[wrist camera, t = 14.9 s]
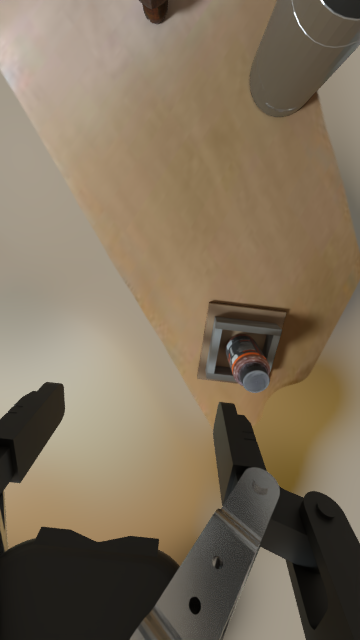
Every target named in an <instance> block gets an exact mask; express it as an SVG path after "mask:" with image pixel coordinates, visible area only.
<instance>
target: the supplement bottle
mask: <svg viewBox="0 0 360 640" xmlns="http://www.w3.org/2000/svg"><path fill="white" fill-rule="evenodd" d="M226 355H227V358H228V361H229V364H230V367H231V370H232V374H233V376H234V379H235V380H236V381H237V382H238V383H239V384H240V385H242V386H244V388H245V389H246V390H247V391H249V392H253V393H257V392H261V391H263V390H265V389H266V388H267V386H268V385H269V381H270V379H269V374H270V366H269V363H268V361H267V360H266V358H265V356H264V355H263V353H262V351H261V350H260V348H259V347H258V345H257V343H256V342H255V340H254V339H253V338H252V337H250V336H248V335H244V334H240V335H236V336H234V337H232V338H231V339H230V340H229V341H228V342H227V344H226Z"/></svg>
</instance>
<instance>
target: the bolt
mask: <svg viewBox="0 0 360 640" xmlns="http://www.w3.org/2000/svg"><path fill="white" fill-rule="evenodd" d="M139 1H140V2H141V3H142V5H143V10H144V13H145V16H146V18H147V19H149V20H150V22H152V23H155V24H157V23H160V22H161V21H162V20H163V19H164V17H165V15H166V13H167V8H168V0H139Z"/></svg>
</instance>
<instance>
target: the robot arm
mask: <svg viewBox="0 0 360 640" xmlns="http://www.w3.org/2000/svg"><path fill="white" fill-rule="evenodd" d="M359 45H360V0H277V2H276V5H275V7H274V10H273V12H272V15H271V17H270V20H269V22H268V25H267V27H266V30H265V33H264V35H263V37H262V40H261V42H260V45H259V48H258V50H257V53H256V55H255V58H254V61H253V64H252V66H251V72H250V89H251V94H252V97H253V99H254V101H255V103H256V105H257V106H258V107H259V108H260V109H261V110H262V111H263V112H264V113H266V114H267V115H270V116H273V117H284V116H288V115H290V114H292V113H294V112H296V111H297V110H299V109H300V108H301V107H302V106H303V105H304V104H305V103H306V102H307V101H308V100H309V99H310V98H311V97H312V95H313V94H314V93H315V92H316V91H317V90H318V89H319V88H320V87H321V86H322V85H323V84H324V83H325V82H326V81H327V79H328V78H329V77H330V76H331V75H332V74H333V73H334V72H335V71H336V70H337V69H338V68H339V67H340V66H341V64H342V63H343V62H344V61H345V60H346V59H347V58H348V57H349V56H350V55H351V54H352V53H353V52H354V51H355V49H356V48H357V47H358V46H359ZM64 412H65V402H64V387H63V384H60V383H50V382H46V383H44V384H43V385H42V387H41V388H40V389H39V390H38V391H32V392H30V393H29V394H27V395H25V396H23V397H22V398H21V399H20V400H19V401H18V402H17V403H16V404H15V405H14V407H12V408H11V409H10V410H9V411H8V413H6V414H5V415H4V416H3V417H2V418H1V419H0V640H223V638H224V635H225V633H226V630H227V628H228V625H229V623H230V620H231V618H232V616H233V613H234V610H235V608H236V605H237V603H238V600H239V598H240V595H241V593H242V590H243V587H244V585H245V583H246V580H247V578H248V576H249V573H250V571H251V568H252V566H253V563H254V561H255V558H256V556H257V554H258V551H259V549H260V547H263V548H264V549H266V550H269V551H270V552H272V553H274V554H276V555H278V556H280V557H282V558H284V559H286V563H287V567H288V571H289V575H290V579H291V582H292V587H293V590H294V594H295V598H296V602H297V606H298V610H299V614H300V618H301V622H302V626H303V630H304V633H305V638H306V640H360V543H359V541H358V539H357V537H356V536H355V534H354V532H353V530H352V528H351V526H350V524H349V522H348V520H347V518H346V516H345V514H344V512H343V511H342V509H341V508H340V507H339V505H338V504H337V503H336V502H335V501H333V500H332V499H331V498H330V497H328V496H327V495H324V494H322V493H320V492H315V491H312V492H308V493H307V494H306V495H305V496H304V498H303V497H301V496H298V495H296V494H293V493H291V492H289V491H286V490H284V489H283V488H281V487H280V486H279V485H278V483H277V481H276V480H275V478H274V477H273V476H272V475H271V474H269V473H268V472H267V471H266V468H265V465H264V462H263V459H262V456H261V453H260V450H259V447H258V444H257V442H256V438H255V435H254V432H253V429H252V426H251V423H250V422H249V421H248V419H247V418H246V417H245V416H244V415H237V411H236V407H235V405H234V404H232V403H224V402H219V404H218V409H217V414H216V418H215V423H214V430H213V437H214V446H215V454H216V461H217V468H218V477H219V484H220V492H221V500H222V506H223V507H222V508H221V509H217V510H216V511H215V513H214V514H213V516H212V517H211V519H210V520H209V522H208V524H207V525H206V527H205V528H204V530H203V531H202V533H201V535H200V536H199V538H198V539H197V541H196V542H195V544H194V545H193V547H192V549H191V550H190V552H189V553H188V555H187V556H186V558H185V560H184V561H183V563H182V564H181V566H179V565H178V564H177V562H175V561H174V560H173V559H172V558H171V557H170V556H168V555H167V554H165V553H164V552H162V551H160V550H158V544H159V539H153V538H144V537H135V536H128V537H124V538H118V539H113V540H108V541H103V542H96V541H93V540H91V539H89V538H87V537H85V536H82V535H81V534H78V533H76V532H74V531H72V530H68V529H57V528H49V527H41V529H40V531H39V533H38V535H37V537H36V538H35V539H31V540H28V541H25V542H22V543H20V544H18V545H15V546H14V547H12V548H10V549H8V543H7V530H6V511H5V494H4V489H5V488H6V486H7V485H8V483H9V482H14V483H21V481H22V480H23V478H24V477H25V475H26V474H27V472H28V471H29V469H30V468H31V466H32V464H33V463H34V461H35V460H36V458H37V457H38V455H39V454H40V452H41V451H42V449H43V447H44V446H45V445H46V443H47V442H48V440H49V439H50V437H51V436H52V434H53V433H54V431H55V430H56V428H57V427H58V425H59V424H60V422H61V420H62V418H63V416H64Z"/></svg>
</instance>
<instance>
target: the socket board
mask: <svg viewBox="0 0 360 640" xmlns="http://www.w3.org/2000/svg"><path fill="white" fill-rule="evenodd" d="M285 316H286V312H285V311H280V310H272V309H263V308H255V307H247V306H238V305H230V304H222V303H213V302H209V307H208V313H207V319H206V325H205V331H204V337H203V343H202V350H201V356H200V362H199V368H198V374H197V379H203V380H212V381H220V382H229V383H238V382H237V381H236V380H235V379H234V376H233V374H232V370H231V367H230V364H229V361H228V358H227V355H226V344H227V342H228V341H229V340H230V339H231V338H232V337H234V336H236V335H240V334H244V335H248V336H250V337H252V338H253V339H254V340H255V342H256V343H257V345H258V347H259V348H260V350H261V351H262V353H263V355H264V356H265V358H266V360H267V361H268V363H269V366H270V371H271V367H272V364H273V360H274V357H275V353H276V350H277V346H278V343H279V339H280V336H281V332H282V326H283V323H284V319H285ZM238 384H239V383H238Z"/></svg>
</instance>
